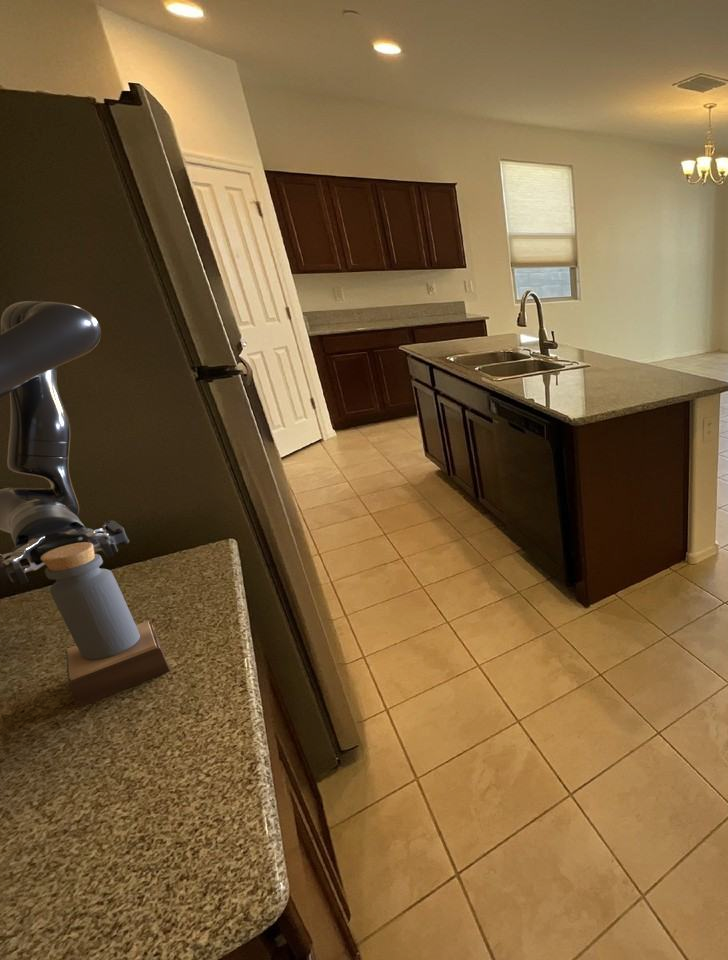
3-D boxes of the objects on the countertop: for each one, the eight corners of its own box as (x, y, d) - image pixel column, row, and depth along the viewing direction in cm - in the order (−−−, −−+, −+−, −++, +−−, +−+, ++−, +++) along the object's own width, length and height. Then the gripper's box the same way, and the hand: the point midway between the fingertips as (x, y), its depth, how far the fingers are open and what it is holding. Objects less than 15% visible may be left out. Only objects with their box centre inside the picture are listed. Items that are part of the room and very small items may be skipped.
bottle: (71, 656, 70) (21, 558, 64) (123, 629, 75) (80, 537, 70) (100, 664, 68) (51, 565, 63) (151, 636, 73) (109, 542, 68)
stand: (77, 674, 73) (63, 648, 71) (160, 643, 79) (150, 618, 78) (80, 707, 67) (65, 680, 66) (170, 670, 73) (158, 645, 72)
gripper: (-33, 527, 75) (-25, 561, 66) (101, 496, 86) (125, 521, 77) (-9, 572, 78) (2, 610, 69) (119, 536, 88) (143, 565, 79)
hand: (67, 563), depth 73 cm, fingers open, 8 cm apart
